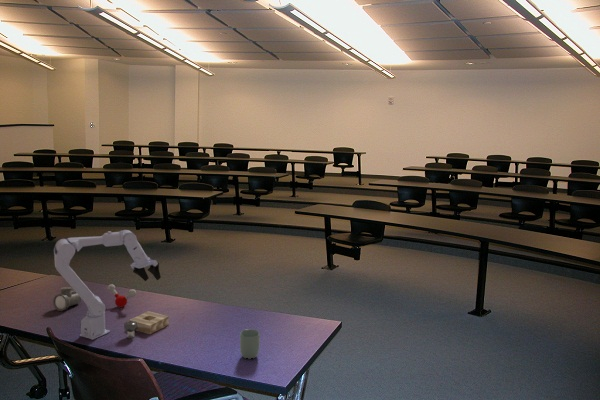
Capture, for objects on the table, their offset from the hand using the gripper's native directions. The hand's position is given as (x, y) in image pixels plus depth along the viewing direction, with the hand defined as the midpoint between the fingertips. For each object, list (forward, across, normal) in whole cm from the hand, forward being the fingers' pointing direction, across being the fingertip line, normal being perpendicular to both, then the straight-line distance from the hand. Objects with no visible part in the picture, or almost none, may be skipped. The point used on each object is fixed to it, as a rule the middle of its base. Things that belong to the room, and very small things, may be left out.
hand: (152, 279), depth 237 cm
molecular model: (+15, +31, 0) cm, 35 cm away
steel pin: (+12, +2, +23) cm, 26 cm away
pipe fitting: (+5, +51, +11) cm, 52 cm away
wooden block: (+17, +4, +12) cm, 21 cm away
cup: (+29, -49, +18) cm, 59 cm away
